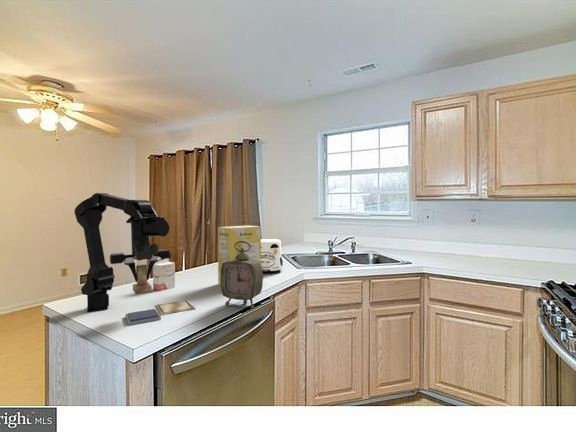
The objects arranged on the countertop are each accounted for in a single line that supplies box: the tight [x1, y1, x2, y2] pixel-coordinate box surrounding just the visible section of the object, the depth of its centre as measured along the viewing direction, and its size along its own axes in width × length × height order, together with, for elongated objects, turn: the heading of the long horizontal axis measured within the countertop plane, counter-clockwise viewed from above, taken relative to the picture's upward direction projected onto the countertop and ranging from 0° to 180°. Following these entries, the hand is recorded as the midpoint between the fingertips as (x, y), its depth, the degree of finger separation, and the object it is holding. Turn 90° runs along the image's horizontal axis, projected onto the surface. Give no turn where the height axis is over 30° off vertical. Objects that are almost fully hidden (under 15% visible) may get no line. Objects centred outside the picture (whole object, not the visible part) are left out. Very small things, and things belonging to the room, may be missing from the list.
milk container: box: [261, 238, 284, 273], centre depth 185 cm, size 17×17×18 cm
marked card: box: [155, 299, 196, 316], centre depth 120 cm, size 12×12×1 cm
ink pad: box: [125, 308, 162, 326], centre depth 109 cm, size 10×9×1 cm
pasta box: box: [217, 225, 262, 286], centre depth 158 cm, size 18×10×28 cm, turn 134°
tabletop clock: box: [220, 241, 264, 310], centre depth 123 cm, size 14×9×25 cm, turn 71°
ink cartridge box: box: [152, 257, 176, 292], centre depth 148 cm, size 9×5×15 cm, turn 145°
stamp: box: [132, 264, 153, 295], centre depth 111 cm, size 5×7×9 cm
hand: (141, 280), depth 111 cm, fingers closed on stamp, 3 cm apart
